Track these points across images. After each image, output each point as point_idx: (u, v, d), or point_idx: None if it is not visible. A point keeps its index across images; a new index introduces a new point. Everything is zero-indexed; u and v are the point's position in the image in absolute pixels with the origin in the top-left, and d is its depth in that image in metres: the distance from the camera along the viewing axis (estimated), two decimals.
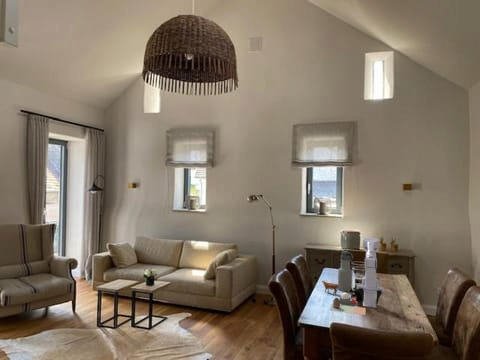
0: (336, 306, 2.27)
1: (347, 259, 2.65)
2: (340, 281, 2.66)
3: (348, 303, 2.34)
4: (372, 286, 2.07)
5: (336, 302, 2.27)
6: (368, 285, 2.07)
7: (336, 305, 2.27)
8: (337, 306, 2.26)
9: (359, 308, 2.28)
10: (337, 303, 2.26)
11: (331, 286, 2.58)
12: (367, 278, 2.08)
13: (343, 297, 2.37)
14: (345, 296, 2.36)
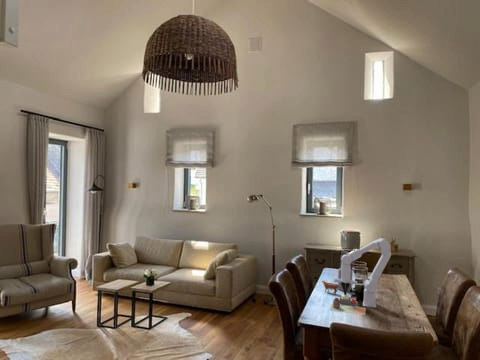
0: (336, 306, 2.27)
1: None
2: None
3: (348, 303, 2.34)
4: (347, 279, 2.35)
5: (336, 302, 2.27)
6: (344, 278, 2.36)
7: (336, 305, 2.27)
8: (337, 306, 2.26)
9: (359, 308, 2.28)
10: (337, 303, 2.26)
11: (331, 286, 2.58)
12: None
13: (343, 298, 2.37)
14: (345, 297, 2.36)
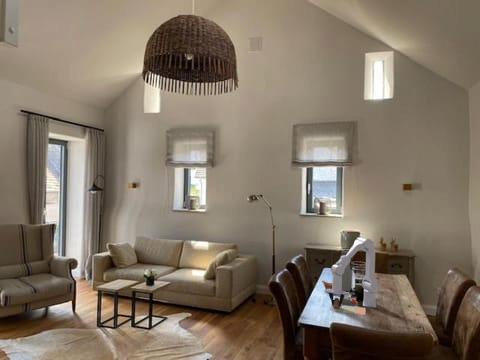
0: (336, 306, 2.27)
1: None
2: None
3: (348, 303, 2.34)
4: (338, 291, 2.26)
5: (336, 302, 2.27)
6: (335, 289, 2.26)
7: (336, 305, 2.27)
8: (337, 306, 2.26)
9: (359, 308, 2.28)
10: (337, 303, 2.26)
11: (331, 286, 2.58)
12: (332, 282, 2.29)
13: None
14: (345, 297, 2.36)
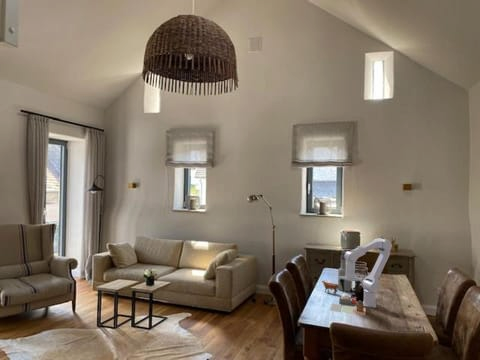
0: (360, 309, 2.22)
1: None
2: None
3: (348, 303, 2.34)
4: (352, 277, 2.28)
5: (360, 305, 2.22)
6: (348, 276, 2.29)
7: (360, 308, 2.22)
8: (361, 309, 2.22)
9: None
10: (361, 306, 2.22)
11: (331, 286, 2.58)
12: None
13: (343, 298, 2.37)
14: (345, 297, 2.36)
